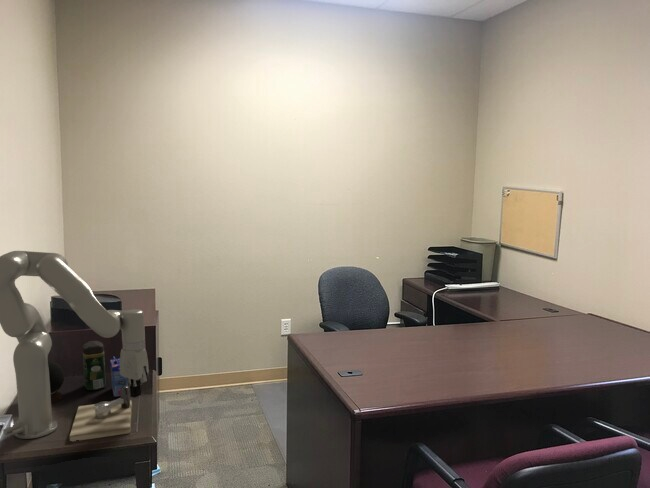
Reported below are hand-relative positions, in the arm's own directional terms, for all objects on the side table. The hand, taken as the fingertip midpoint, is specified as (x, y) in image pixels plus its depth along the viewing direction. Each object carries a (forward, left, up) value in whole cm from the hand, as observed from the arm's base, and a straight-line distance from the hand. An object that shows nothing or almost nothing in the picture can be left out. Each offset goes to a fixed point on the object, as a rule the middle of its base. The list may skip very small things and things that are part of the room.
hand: (135, 395), depth 182 cm
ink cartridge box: (+11, +25, -8) cm, 28 cm away
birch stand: (-9, +6, -8) cm, 13 cm away
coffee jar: (+9, +38, -8) cm, 40 cm away
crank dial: (-5, +6, -5) cm, 10 cm away
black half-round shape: (-9, +42, -8) cm, 44 cm away
